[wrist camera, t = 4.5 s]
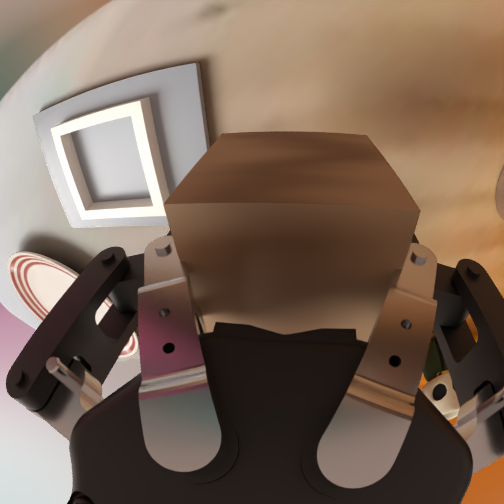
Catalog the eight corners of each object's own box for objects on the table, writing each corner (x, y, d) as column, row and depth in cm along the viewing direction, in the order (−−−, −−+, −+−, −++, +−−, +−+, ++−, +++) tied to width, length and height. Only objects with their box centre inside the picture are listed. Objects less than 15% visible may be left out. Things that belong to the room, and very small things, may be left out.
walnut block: (366, 135, 10) (420, 210, 5) (352, 249, 14) (367, 351, 9) (222, 133, 11) (163, 204, 6) (237, 245, 15) (208, 343, 10)
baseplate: (199, 62, 16) (188, 63, 14) (221, 218, 25) (215, 234, 23) (38, 112, 19) (22, 121, 17) (76, 222, 28) (65, 235, 26)
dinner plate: (176, 341, 42) (171, 358, 39) (91, 349, 52) (85, 360, 50) (52, 209, 27) (37, 225, 25) (4, 264, 37) (-5, 275, 35)
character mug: (465, 325, 32) (486, 398, 22) (456, 346, 36) (471, 411, 26) (404, 342, 36) (418, 421, 26) (401, 362, 40) (411, 431, 30)
